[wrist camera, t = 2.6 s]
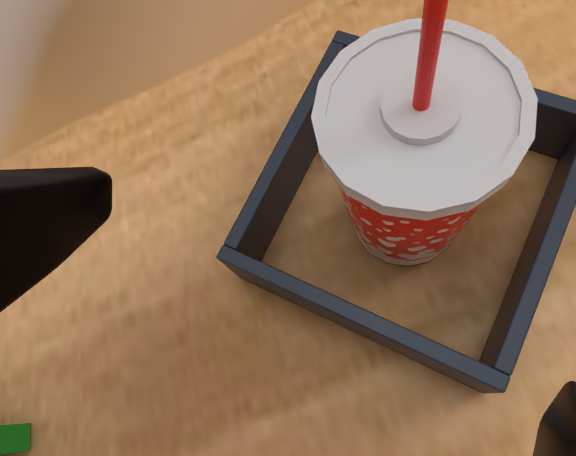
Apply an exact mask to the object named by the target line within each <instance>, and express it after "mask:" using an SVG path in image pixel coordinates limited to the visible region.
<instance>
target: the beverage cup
mask: <svg viewBox="0 0 576 456" xmlns="http://www.w3.org/2000/svg"><path fill="white" fill-rule="evenodd" d="M447 4H448V0H424V8H423V16H422V19H420V18H411V19H408V20H404V21H400V22H397V23H393V24H389V25H386V26H382V27H378V28H375V29H372V30H371V31H369V32H368V33H366V34H365V35H363V36H362V37H360V38H359V39H357V40H356V41H354V42H353V43H351V44H350V45H348V46H347V47H345V48H344V49H343V50H341V51H340V52H339V54H338V55H337V56H336V58H335V59H334V61H333V62H332V63H331V65H330V66H329V68H328V69H327V70H326V72H325V73H324V75H323V76H322V78H321V79H320V80H319V82H318V87H317V91H316V96H315V101H314V106H313V110H312V115H311V119H312V123H313V128H314V132H315V136H316V140H317V144H318V149H319V153H320V157H321V159H322V161H323V165H324V166H325V168H326V169H327V170H328V172H329V173H330V174H331V175H332V177H333V178H334V179H335V180H336V182H337V183H338V184H339V186H340V189H341V192H342V195H343V198H344V200H345V203H346V206H347V209H348V212H349V215H350V218H351V220H352V223H353V226H354V229H355V232H356V235H357V237H358V239H359V240H360V241H361V242H362V244H363V245H364V246H365V248H366V249H367V250H368V252H369V253H371V254H373V255H374V256H376V257H378V258H380V259H381V260H383V261H385V262H386V263H391V264H397V265H404V266H411V265H416V264H420V263H424V262H429V261H430V260H432V259H433V258H435V257H436V256H437V255H439V254H440V253H442V252H443V251H445V250H446V249H447V247H448V246H449V245H450V243H451V242H452V241H453V239H454V238H455V237H456V235H457V234H458V233H459V231H460V230H461V229H462V227H463V226H464V225H465V223H466V222H467V221H468V219H469V218H470V217H471V215H472V214H473V213H474V211H475V210H476V209H477V207H478V206H479V205H480V203H481V202H483V201H484V200H486V199H487V198H488V197H490V196H491V195H493V194H494V193H496V192H497V191H498V190H500V189H501V188H503V187H504V186H505V185H506V183H507V182H508V180H510V179H511V177H512V176H513V174H514V172H515V171H516V169H517V167H518V166H519V164H520V162H521V161H522V159H523V157H524V156H525V154H526V152H527V151H528V149H529V147H530V146H531V144H532V142H533V141H534V139H535V130H536V116H537V102H538V98H537V96H536V93H535V91H534V89H533V86H532V84H531V82H530V79H529V77H528V74H527V72H526V70H525V67H524V65H523V63H522V62H521V61H520V60H519V59H518V58H517V57H516V56H515V55H514V54H513V53H512V52H510V51H509V50H508V49H507V48H506V47H505V46H504V45H503V44H502V43H501V42H500V41H498V40H497V39H496V38H495V37H494V36H493V35H491V34H488V33H486V32H483V31H481V30H478V29H476V28H473V27H470V26H468V25H465V24H463V23H460V22H458V21H455V20H445V16H446V10H447Z"/></svg>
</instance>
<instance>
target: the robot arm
mask: <svg viewBox="0 0 576 456" xmlns="http://www.w3.org/2000/svg"><path fill="white" fill-rule="evenodd" d="M111 211H112V179H111V176H110V175H109V174H108V173H106V172H103V171H101V170H99V169H97V168H94V167H73V168H44V169H16V170H0V312H1V311H3V310H4V309H5V308H6V307H8V306H9V305H10V304H12V303H13V302H14V301H15V300H17V299H18V298H19V297H20V296H22V295H23V294H24V293H26V292H27V291H28V290H29V289H31V288H32V287H33V286H34V285H36V284H37V283H38V282H40V281H41V280H42V279H43V278H45V277H46V276H47V275H48V274H50V273H51V272H52V271H53V270H55V269H56V268H57V267H58V266H59V265H60V264H61V263H63V262H64V261H65V260H66V259H67V258H68V257H69V256H70V255H71V254H72V253H73V252H74V251H75V250H76V249H77V248H78V247H79V246H80V245H82V244H83V243H84V242H85V241H86V240H87V239H88V238H89V237H90V236H91V235H92V234H93V233H94V232H95V231H96V230H97V229H98V228H99V227H100V226H101V225H102V224H103V223H105V222H106V220H107V219H108V218H109V216H110V214H111ZM533 456H576V382H575V381H570V382H567V383H566V384H565V385H564V386H563V387H562V389H561V390H560V392H559V393H558V395H557V396H556V397H555V399H554V400H553V402H552V403H551V405H550V406H549V407H548V409H547V410H546V412H545V413H544V415H543V417H542V419H541V421H540V424H539V428H538V433H537V437H536V442H535V447H534V452H533Z"/></svg>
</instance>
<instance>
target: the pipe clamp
mask: <svg viewBox="0 0 576 456" xmlns="http://www.w3.org/2000/svg"><path fill="white" fill-rule="evenodd" d="M30 428H31V423H27V424H15V425H3V426H0V455H4V454H10V453H16V452H23V451H29V450H30Z"/></svg>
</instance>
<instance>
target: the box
mask: <svg viewBox="0 0 576 456" xmlns="http://www.w3.org/2000/svg"><path fill="white" fill-rule="evenodd" d="M359 38H360V37H359V36H355V35H352V34H349V33H345V32H342V31H337V32H336V34H335V36H334V38H333V40H332V42H331V43H330V45H329V47H328V49H327V51H326V53H325V55H324V57H323V58H322V60H321V62H320V64H319V66H318V68H317V70H316V72H315V73H314V75H313V77H312V79H311V81H310V83H309V85H308V87H307V88H306V90H305V92H304V94H303V96H302V98H301V100H300V102H299V103H298V105H297V107H296V109H295V111H294V113H293V115H292V117H291V118H290V120H289V122H288V124H287V126H286V128H285V130H284V132H283V133H282V135H281V137H280V139H279V141H278V143H277V145H276V146H275V148H274V150H273V152H272V154H271V156H270V158H269V160H268V161H267V163H266V165H265V167H264V169H263V171H262V173H261V175H260V176H259V178H258V180H257V182H256V184H255V186H254V188H253V190H252V191H251V193H250V195H249V197H248V199H247V201H246V203H245V205H244V206H243V208H242V210H241V212H240V214H239V216H238V218H237V220H236V221H235V223H234V225H233V227H232V229H231V231H230V233H229V235H228V236H227V238H226V240H225V242H224V245H223V246H222V248H221V249H220V251H219V253H218V255H217V259H219V260H220V261H221V262H222V263H223V264H225V265H226V266H227V267H228V268H229V269H230V270H232V271H233V272H234V273H235V274H236V275H238V276H239V277H240V278H242V279H244V280H246V281H248V282H250V283H253V284H255V285H257V286H259V287H261V288H263V289H265V290H267V291H269V292H271V293H274V294H276V295H278V296H280V297H282V298H284V299H286V300H288V301H290V302H292V303H295V304H297V305H299V306H301V307H303V308H305V309H307V310H309V311H311V312H314V313H316V314H318V315H320V316H322V317H324V318H326V319H328V320H330V321H332V322H335V323H337V324H339V325H341V326H343V327H345V328H347V329H349V330H351V331H353V332H356V333H358V334H360V335H362V336H364V337H366V338H368V339H370V340H372V341H374V342H377V343H379V344H381V345H383V346H385V347H387V348H389V349H391V350H393V351H395V352H398V353H400V354H402V355H404V356H406V357H408V358H410V359H412V360H414V361H416V362H419V363H421V364H423V365H425V366H427V367H429V368H431V369H433V370H435V371H437V372H440V373H442V374H444V375H446V376H448V377H450V378H452V379H454V380H456V381H458V382H461V383H463V384H465V385H467V386H469V387H471V388H473V389H475V390H477V391H479V392H482V393H504V392H505V391H506V388H507V386H508V383H509V380H510V376H511V375H512V372H513V370H514V367H515V364H516V362H517V359H518V356H519V354H520V351H521V348H522V346H523V343H524V340H525V338H526V335H527V332H528V330H529V327H530V324H531V322H532V319H533V316H534V314H535V311H536V308H537V306H538V303H539V300H540V298H541V295H542V292H543V290H544V287H545V284H546V282H547V279H548V276H549V274H550V271H551V268H552V266H553V263H554V260H555V258H556V255H557V252H558V250H559V247H560V244H561V242H562V239H563V236H564V234H565V231H566V228H567V225H568V223H569V220H570V217H571V215H572V212H573V209H574V207H575V204H576V100H573V99H570V98H567V97H563V96H560V95H556V94H553V93H550V92H546V91H543V90H539V89H536V88H533V89H534V91H535V93H536V96H537V98H538V102H537V116H536V130H535V139H534V141H533V142H532V144H531V146H530V147H529V149H531V150H534V151H537V152H540V153H543V154H546V155H549V156H552V157H555V158H558V161H557V164H556V166H555V169H554V171H553V174H552V176H551V179H550V182H549V184H548V187H547V189H546V192H545V194H544V197H543V199H542V202H541V205H540V207H539V210H538V212H537V215H536V217H535V220H534V222H533V225H532V228H531V230H530V233H529V235H528V238H527V240H526V243H525V245H524V248H523V251H522V253H521V256H520V258H519V261H518V263H517V266H516V268H515V271H514V274H513V276H512V279H511V281H510V284H509V286H508V289H507V291H506V294H505V297H504V299H503V302H502V304H501V307H500V309H499V312H498V314H497V317H496V320H495V322H494V325H493V327H492V330H491V332H490V335H489V337H488V340H487V343H486V345H485V348H484V350H483V353H482V355H481V358H480V360H479V361H476V360H474V359H472V358H470V357H468V356H466V355H463V354H461V353H459V352H457V351H455V350H452V349H450V348H448V347H446V346H444V345H442V344H439V343H437V342H435V341H433V340H431V339H428V338H426V337H424V336H422V335H420V334H418V333H415V332H413V331H411V330H409V329H407V328H405V327H402V326H400V325H398V324H396V323H394V322H391V321H389V320H387V319H385V318H383V317H381V316H378V315H376V314H374V313H372V312H370V311H367V310H365V309H363V308H361V307H359V306H357V305H354V304H352V303H350V302H348V301H346V300H344V299H341V298H339V297H337V296H335V295H333V294H330V293H328V292H326V291H324V290H322V289H320V288H317V287H315V286H313V285H311V284H309V283H306V282H304V281H302V280H300V279H298V278H296V277H293V276H291V275H289V274H287V273H285V272H283V271H280V270H278V269H276V268H274V267H272V266H269V265H267V264H265V263H263V262H261V260H262V258H263V256H264V254H265V252H266V250H267V248H268V246H269V244H270V242H271V240H272V238H273V236H274V234H275V232H276V230H277V228H278V226H279V224H280V222H281V221H282V219H283V217H284V215H285V213H286V211H287V209H288V207H289V205H290V203H291V201H292V199H293V197H294V195H295V193H296V191H297V189H298V187H299V185H300V183H301V181H302V180H303V178H304V176H305V174H306V172H307V170H308V168H309V166H310V164H311V162H312V160H313V158H314V156H315V154H316V152H317V150H318V144H317V140H316V136H315V132H314V128H313V123H312V119H311V115H312V110H313V106H314V101H315V96H316V91H317V87H318V82H319V80H320V79H321V78H322V76H323V75H324V73H325V72H326V70H327V69H328V68H329V66H330V65H331V63H332V62H333V61H334V59H335V58H336V56H337V55H338V54H339V52H340V51H341V50H343V49H344V48H345V47H347V46H348V45H350V44H351V43H353V42H354V41H356V40H357V39H359Z"/></svg>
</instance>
